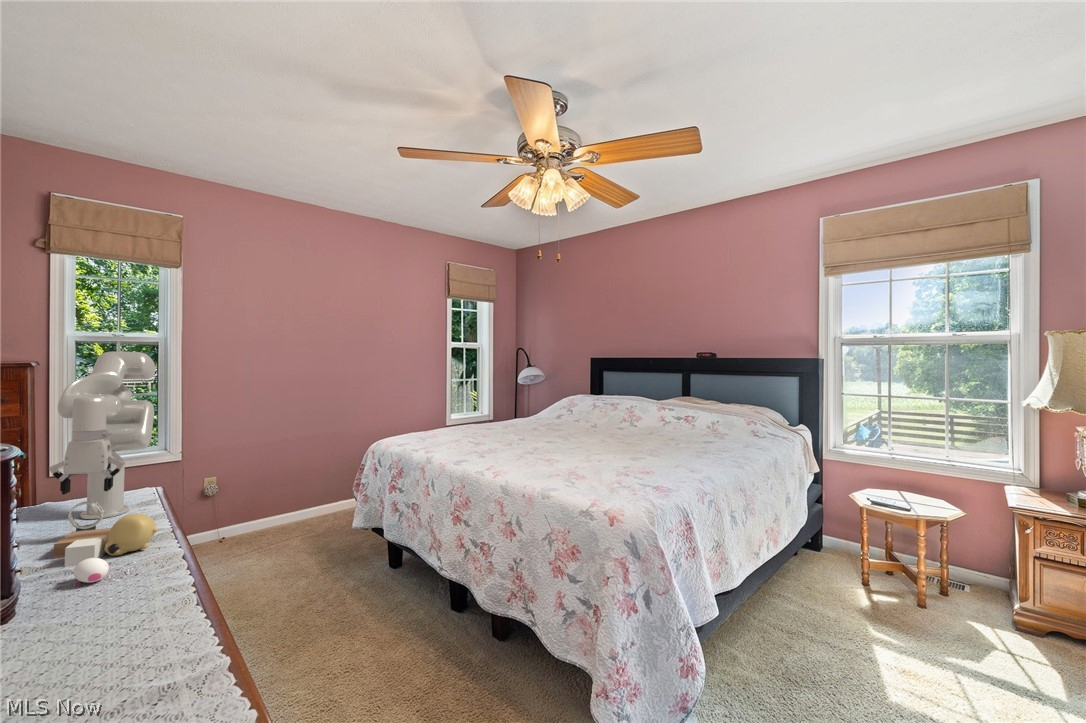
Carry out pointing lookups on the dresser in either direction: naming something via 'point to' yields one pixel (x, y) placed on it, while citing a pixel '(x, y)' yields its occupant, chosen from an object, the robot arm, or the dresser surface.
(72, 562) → the off-white block
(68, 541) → the walnut block
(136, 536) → the beige rounded piece
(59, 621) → the dresser surface
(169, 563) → the dresser surface
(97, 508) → the watch
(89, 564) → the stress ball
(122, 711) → the dresser surface
